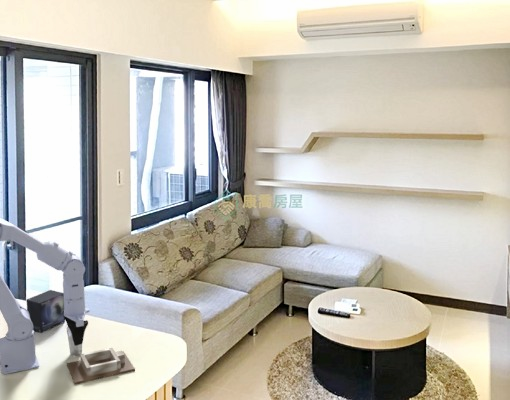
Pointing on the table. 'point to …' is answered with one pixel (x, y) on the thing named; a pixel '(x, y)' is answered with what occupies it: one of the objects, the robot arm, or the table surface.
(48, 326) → the small box
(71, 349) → the milkshake
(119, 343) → the table surface
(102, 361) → the pocket plate
